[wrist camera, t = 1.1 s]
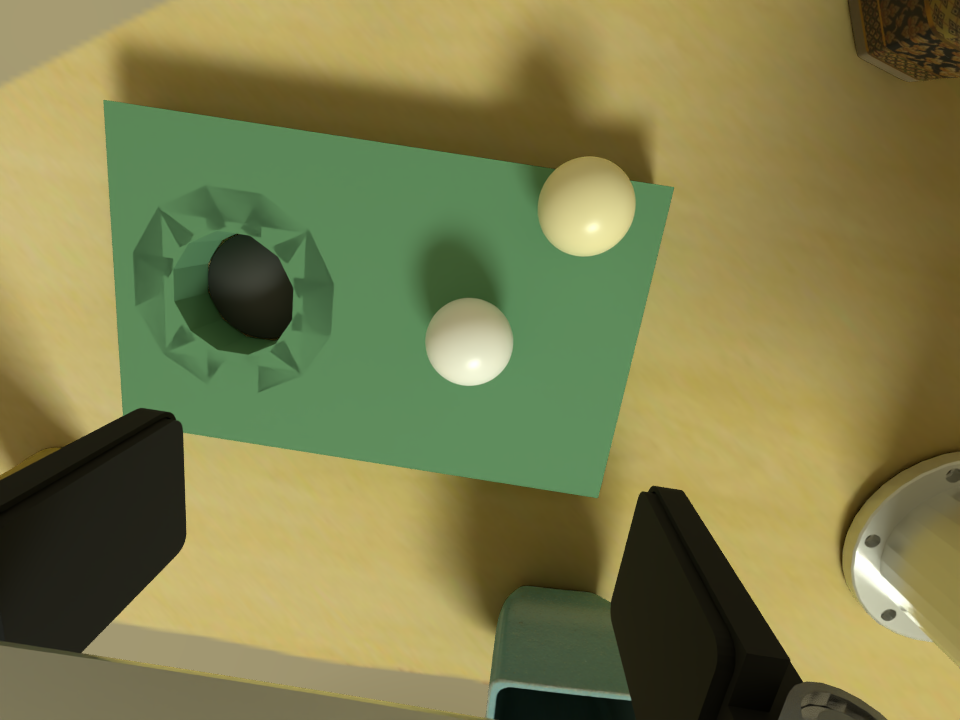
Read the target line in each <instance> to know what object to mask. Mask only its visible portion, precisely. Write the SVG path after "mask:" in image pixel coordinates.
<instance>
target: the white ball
mask: <svg viewBox="0 0 960 720" xmlns="http://www.w3.org/2000/svg"><path fill="white" fill-rule="evenodd" d="M425 345H426V352H427V356H428V358H429V361H430V363H431V364H432V366H433V367H434V369H435V370H436V371H437V372H438V373H439V374H440V375H441V376H442V377H444V378H445V379H447V380H448V381H450V382H452V383H455V384H459V385H464V386H474V385H480V384H483V383H486V382H488V381H490V380H492V379H494V378H495V377H496V376H498V375H499V374H500V373H501V372H502V371H503V369H504V368H505V367H506V365H507V364H508V362H509V360H510V357H511V354H512V350H513V334H512V330H511V327H510V324H509V322H508V320H507V318H506V317H505V315H504V314H503V313H502V312H501V311H500V310H499V309H498V308H497V307H495V306H494V305H493V304H491V303H489V302H487V301H484V300H481V299H477V298H462V299H457V300H454V301H452V302H450V303H448V304H446V305H445V306H443V307H442V308H441V309H439V310H438V311H437V313H436V314H435V315H434V316H433V318H432V319H431V321H430V323H429V325H428V328H427V331H426V337H425Z"/></svg>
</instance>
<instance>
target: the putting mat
mask: <svg viewBox="0 0 960 720" xmlns="http://www.w3.org/2000/svg"><path fill="white" fill-rule="evenodd" d="M103 101H104V117H105V133H106V149H107V166H108V182H109V198H110V214H111V230H112V246H113V262H114V278H115V294H116V311H117V327H118V343H119V359H120V375H121V391H122V407H123V416H124V415H126V414H128V413H130V412H132V411H134V410H136V409H139V408H146V409H153V410H159V411H166V412H171V413H172V414H174V416H175V418H176V420H178V421H180V422H181V424H182V427H183V433H189V434H196V435H202V436H208V437H215V438H221V439H227V440H234V441H240V442H246V443H252V444H259V445H265V446H271V447H278V448H284V449H290V450H297V451H303V452H309V453H316V454H322V455H328V456H335V457H341V458H347V459H354V460H360V461H366V462H373V463H379V464H385V465H392V466H398V467H404V468H410V469H417V470H423V471H429V472H436V473H442V474H448V475H455V476H461V477H467V478H474V479H480V480H486V481H493V482H499V483H505V484H512V485H518V486H524V487H531V488H537V489H543V490H550V491H556V492H562V493H568V494H575V495H581V496H587V497H594V498H598V496H599V492H600V488H601V484H602V480H603V476H604V472H605V468H606V464H607V460H608V456H609V452H610V448H611V443H612V439H613V435H614V431H615V427H616V423H617V419H618V415H619V411H620V407H621V403H622V399H623V394H624V390H625V386H626V382H627V378H628V374H629V370H630V366H631V362H632V358H633V354H634V350H635V345H636V341H637V337H638V333H639V329H640V325H641V321H642V317H643V313H644V309H645V305H646V301H647V296H648V292H649V288H650V284H651V280H652V276H653V272H654V268H655V264H656V260H657V256H658V252H659V248H660V243H661V239H662V235H663V231H664V227H665V223H666V219H667V215H668V211H669V207H670V203H671V199H672V194H673V190H674V187H669V186H663V185H656V184H650V183H643V182H636V181H630V182H631V183H632V186H633V189H634V193H635V200H636V207H635V214H634V218H633V221H632V224H631V226H630V228H629V230H628V231H627V233H626V234H625V236H624V237H623V238H622V239H621V240H620V241H619V242H618V243H617V244H616V245H615V246H614V247H612V248H611V249H609V250H607V251H605V252H603V253H601V254H598V255H594V256H585V257H582V256H574V255H570V254H567V253H564V252H562V251H561V250H559V249H557V248H556V247H555V246H554V245H553V244H551V243H550V242H549V240H548V239H547V238H546V236H545V235H544V233H543V231H542V229H541V226H540V223H539V219H538V200H539V196H540V192H541V190H542V187H543V185H544V183H545V182H546V180H547V179H548V177H549V176H550V175H551V174H552V173H553V171H555V170H556V169H552V168H545V167H539V166H532V165H525V164H519V163H512V162H506V161H499V160H493V159H486V158H480V157H473V156H467V155H460V154H454V153H447V152H441V151H434V150H427V149H421V148H414V147H408V146H401V145H395V144H388V143H382V142H375V141H369V140H362V139H356V138H349V137H343V136H336V135H330V134H323V133H316V132H310V131H303V130H297V129H290V128H284V127H277V126H271V125H264V124H258V123H251V122H245V121H238V120H232V119H225V118H218V117H212V116H205V115H199V114H192V113H186V112H179V111H173V110H166V109H160V108H153V107H147V106H140V105H134V104H127V103H121V102H114V101H107V100H103ZM235 234H240V235H237V236H234V237H232V238H230V239H228V240H227V241H226V242H224V243H223V244H222V245H221V246H220V247H219V245H220V243H221V242H222V240H224V239H226V238H228V237H231V236H233V235H235ZM218 247H219V248H218ZM217 248H218V250H217ZM216 250H217V251H216ZM214 253H215V254H214ZM213 255H214V256H213ZM212 257H213V258H212ZM211 258H212V260H211ZM210 260H211V263H210V266H209V272H208V263H209V261H210ZM208 285H209V291H210V294H211V296H210V294H209V293H208ZM211 297H212V298H211ZM462 298H477V299H481V300H484V301H487V302H489V303H491V304H493V305H494V306H495V307H497V308H498V309H499V310H500V311H501V312H502V313H503V314H504V315H505V317H506V318H507V320H508V322H509V324H510V327H511V330H512V334H513V350H512V354H511V357H510V360H509V362H508V364H507V365H506V367H505V368H504V369H503V371H502V372H501V373H500V374H499V375H498V376H496V377H495V378H494V379H492V380H490V381H488V382H486V383H483V384H480V385H474V386H464V385H459V384H455V383H452V382H450V381H448V380H447V379H445V378H444V377H442V376H441V375H440V374H439V373H438V372H437V371H436V370H435V369H434V367H433V366H432V364H431V363H430V361H429V358H428V356H427V352H426V345H425V337H426V331H427V328H428V325H429V323H430V321H431V319H432V318H433V316H434V315H435V314H436V313H437V311H438V310H439V309H441V308H442V307H443V306H445V305H446V304H448V303H450V302H452V301H454V300H457V299H462ZM220 314H221V315H222V317H223V318H224V319H225V320H226V321H227V322H226V321H225V320H224V319H222V317H221V315H220ZM230 324H231V325H230ZM237 329H238V330H237ZM240 331H241V332H243V333H245V334H248V335H250V336H254V337H258V338H254V337H248V336H246V335H244V334H243V333H241V332H240ZM279 336H281V337H280V338H279V339H277V340H275V341H274V340H267V339H261V338H275V337H279Z"/></svg>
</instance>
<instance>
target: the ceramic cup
mask: <svg viewBox="0 0 960 720" xmlns="http://www.w3.org/2000/svg"><path fill="white" fill-rule="evenodd" d="M848 2H849V9H850V15H851V21H852V27H853V33H854V39H855V45H856V51H857V55H858V56H859V57H860V58H861V59H863V60H865V61H867V62H869V63H871V64H873V65H875V66H877V67H878V68H880V69H882V70H884V71H886V72H888V73H890V74H892V75H894V76H896V77H898V78H900V79H902V80H904V81H907V82H912V81H926V80H934V79H942V78H955V77H960V0H848Z"/></svg>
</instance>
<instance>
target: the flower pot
mask: <svg viewBox="0 0 960 720" xmlns="http://www.w3.org/2000/svg"><path fill="white" fill-rule="evenodd" d="M610 608H611V603H610V602H609V601H607V600H605V599H603V598H602V597H600V596H598V595H596V594H594V593H590V592H581V591H571V590H560V589H551V588H542V587H534V586H522V587H520V588H518V589H517V590H515V591H514V592H513V593H512V594H511V595H510V596H509V597H508V598H507V600H506V601H505V603H504V605H503V607H502V609H501V612H500V615H499V618H498V623H497V628H496V635H495V643H494V651H493V659H492V668H491V676H490V684H489V691H488V701H487V711H486V718H489V719H495V720H636V717H635V713H634V709H633V705H632V701H631V697H630V693H629V689H628V685H627V681H626V677H625V673H624V669H623V666H622V662H621V658H620V654H619V650H618V646H617V642H616V638H615V634H614V630H613V626H612V622H611V614H610Z"/></svg>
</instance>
